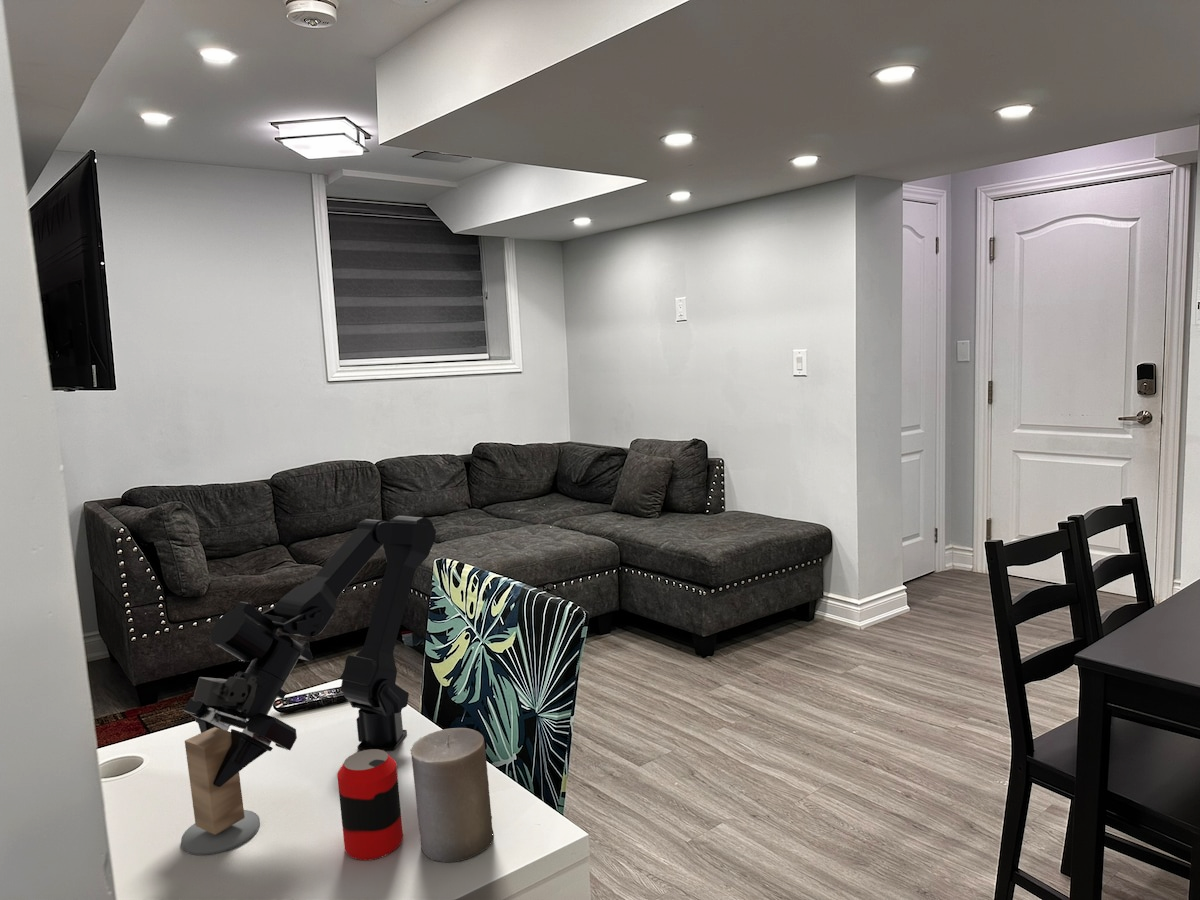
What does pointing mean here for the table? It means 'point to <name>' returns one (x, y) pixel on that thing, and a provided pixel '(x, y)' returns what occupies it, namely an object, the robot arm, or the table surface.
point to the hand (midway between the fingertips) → (205, 781)
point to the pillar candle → (452, 794)
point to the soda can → (370, 804)
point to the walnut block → (210, 801)
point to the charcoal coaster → (220, 836)
